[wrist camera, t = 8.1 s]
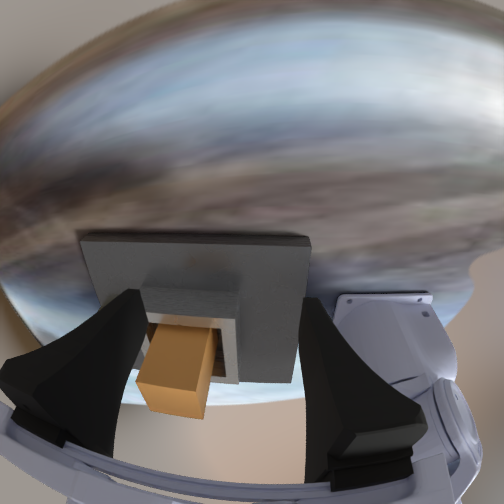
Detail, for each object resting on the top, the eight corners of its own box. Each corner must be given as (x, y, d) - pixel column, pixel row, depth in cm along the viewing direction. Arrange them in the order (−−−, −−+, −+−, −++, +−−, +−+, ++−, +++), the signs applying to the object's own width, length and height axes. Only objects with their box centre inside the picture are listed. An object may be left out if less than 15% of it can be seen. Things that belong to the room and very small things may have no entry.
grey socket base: (308, 236, 21) (317, 271, 17) (290, 372, 28) (291, 407, 25) (88, 233, 21) (59, 260, 18) (131, 358, 29) (119, 388, 25)
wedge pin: (215, 307, 22) (195, 391, 15) (218, 341, 24) (203, 419, 17) (167, 303, 23) (135, 381, 16) (174, 336, 25) (150, 410, 18)
